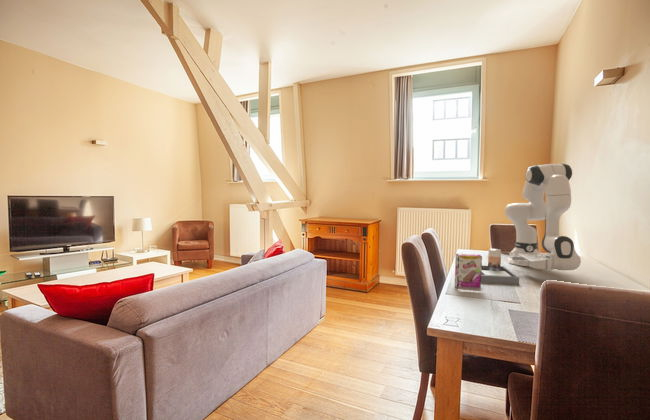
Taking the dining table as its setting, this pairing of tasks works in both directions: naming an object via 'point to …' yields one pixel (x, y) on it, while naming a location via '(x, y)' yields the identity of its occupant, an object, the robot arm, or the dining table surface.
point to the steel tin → (494, 260)
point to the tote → (500, 277)
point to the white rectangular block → (494, 273)
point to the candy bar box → (468, 270)
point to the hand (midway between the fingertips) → (514, 260)
